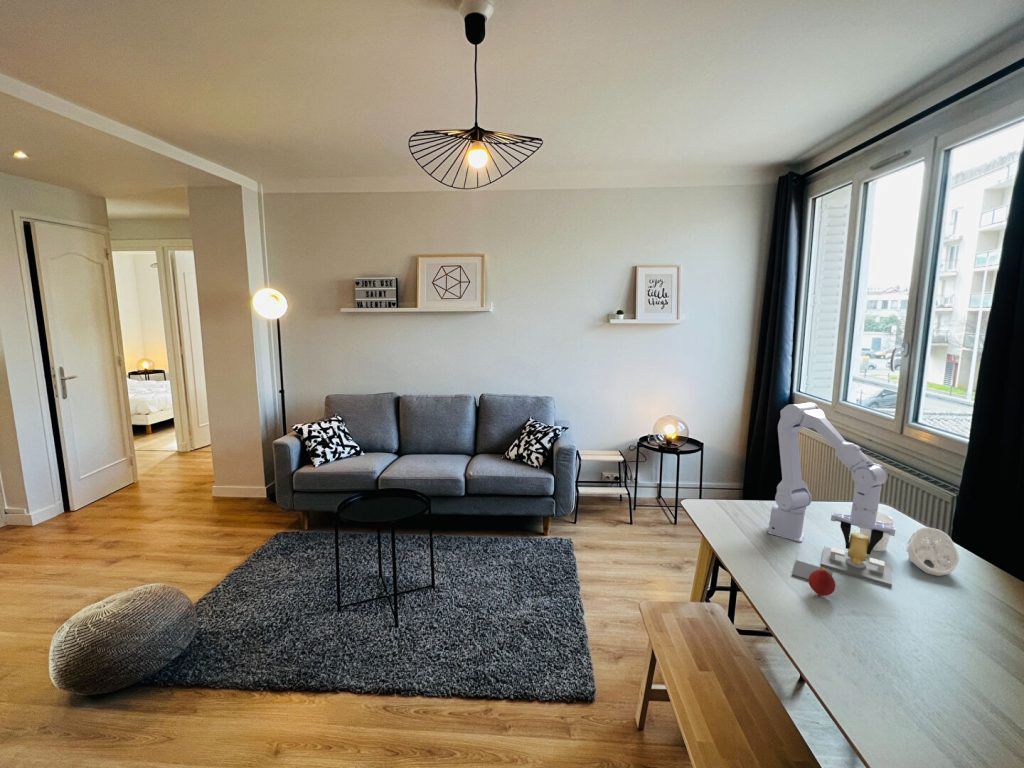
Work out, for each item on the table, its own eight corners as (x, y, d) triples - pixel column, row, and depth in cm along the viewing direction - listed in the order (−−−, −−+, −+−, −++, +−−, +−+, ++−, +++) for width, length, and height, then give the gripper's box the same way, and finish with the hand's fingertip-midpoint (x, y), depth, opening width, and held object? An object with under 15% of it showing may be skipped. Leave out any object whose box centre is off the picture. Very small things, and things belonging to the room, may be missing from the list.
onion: (829, 591, 123) (833, 564, 121) (836, 604, 117) (840, 576, 116) (804, 586, 124) (808, 559, 123) (810, 599, 119) (814, 571, 118)
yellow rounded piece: (847, 549, 138) (850, 528, 136) (865, 554, 135) (869, 532, 134) (847, 560, 132) (850, 538, 130) (866, 565, 129) (870, 543, 128)
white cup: (877, 540, 149) (882, 511, 147) (894, 553, 141) (900, 523, 139) (851, 538, 150) (855, 510, 148) (867, 552, 142) (872, 521, 140)
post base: (820, 566, 134) (822, 555, 133) (823, 549, 143) (825, 538, 143) (891, 587, 124) (893, 575, 124) (889, 567, 134) (891, 556, 133)
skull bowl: (942, 551, 140) (956, 529, 132) (949, 594, 131) (964, 573, 124) (898, 542, 145) (909, 520, 138) (902, 583, 136) (914, 562, 129)
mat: (792, 576, 129) (792, 574, 129) (796, 561, 136) (796, 559, 136) (830, 588, 124) (830, 586, 124) (832, 572, 131) (833, 570, 131)
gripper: (833, 504, 132) (826, 547, 134) (898, 519, 123) (890, 565, 126) (834, 495, 137) (828, 537, 140) (897, 509, 128) (889, 554, 131)
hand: (857, 550), depth 133 cm, fingers closed on yellow rounded piece, 4 cm apart
